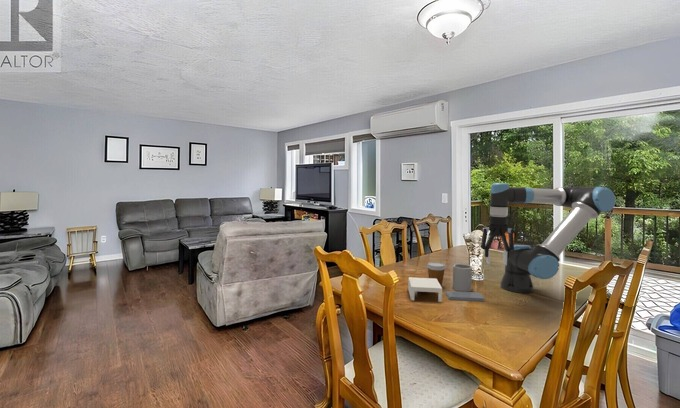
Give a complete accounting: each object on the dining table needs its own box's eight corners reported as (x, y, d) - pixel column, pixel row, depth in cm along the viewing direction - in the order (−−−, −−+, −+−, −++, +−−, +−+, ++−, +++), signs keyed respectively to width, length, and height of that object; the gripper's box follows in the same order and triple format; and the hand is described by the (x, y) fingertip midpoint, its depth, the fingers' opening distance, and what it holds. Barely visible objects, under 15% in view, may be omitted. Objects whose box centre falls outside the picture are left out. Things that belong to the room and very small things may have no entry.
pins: (415, 292, 160) (415, 284, 160) (417, 297, 153) (417, 288, 153) (411, 292, 160) (411, 283, 160) (413, 297, 153) (413, 288, 153)
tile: (478, 296, 157) (479, 292, 157) (484, 302, 149) (484, 298, 149) (445, 294, 159) (445, 291, 159) (449, 300, 151) (449, 296, 151)
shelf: (436, 290, 163) (436, 278, 162) (441, 302, 148) (442, 288, 147) (408, 289, 164) (408, 277, 164) (411, 300, 150) (411, 286, 149)
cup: (469, 293, 160) (470, 269, 159) (450, 289, 165) (451, 266, 164) (472, 287, 168) (473, 265, 167) (454, 284, 173) (455, 263, 172)
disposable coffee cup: (446, 289, 164) (446, 267, 164) (426, 288, 166) (427, 266, 165) (443, 284, 174) (444, 262, 173) (425, 282, 176) (426, 261, 175)
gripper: (517, 215, 152) (515, 263, 153) (474, 214, 154) (472, 261, 156) (524, 217, 144) (522, 267, 146) (479, 216, 147) (477, 265, 148)
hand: (496, 264), depth 151 cm, fingers open, 7 cm apart
